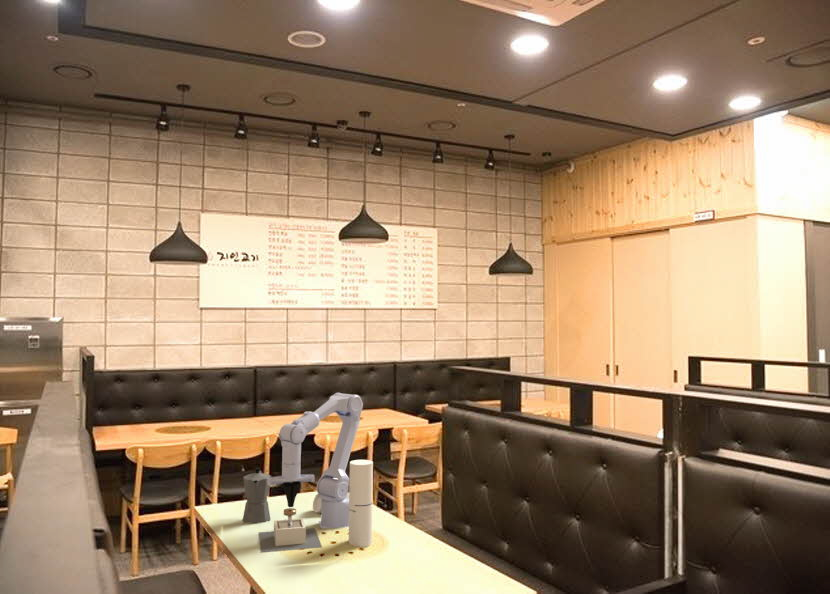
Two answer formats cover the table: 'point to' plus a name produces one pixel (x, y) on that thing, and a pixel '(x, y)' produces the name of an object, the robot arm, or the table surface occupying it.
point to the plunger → (289, 519)
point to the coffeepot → (256, 497)
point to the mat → (269, 545)
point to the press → (289, 533)
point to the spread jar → (318, 501)
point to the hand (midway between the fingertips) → (290, 506)
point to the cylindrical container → (360, 503)
